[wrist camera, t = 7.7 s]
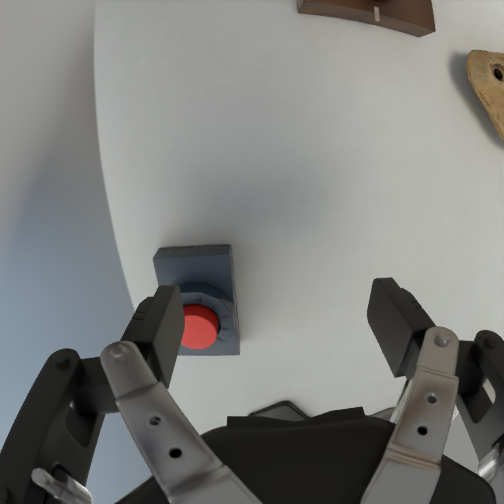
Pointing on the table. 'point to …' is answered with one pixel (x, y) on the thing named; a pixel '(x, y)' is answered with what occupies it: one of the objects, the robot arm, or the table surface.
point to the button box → (204, 290)
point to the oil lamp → (488, 84)
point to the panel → (377, 13)
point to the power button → (199, 326)
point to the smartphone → (282, 412)
